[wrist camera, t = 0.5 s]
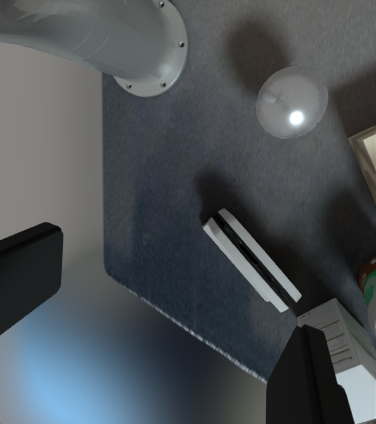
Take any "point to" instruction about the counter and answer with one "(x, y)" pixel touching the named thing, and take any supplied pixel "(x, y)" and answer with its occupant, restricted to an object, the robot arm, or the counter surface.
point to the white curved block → (255, 273)
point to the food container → (369, 289)
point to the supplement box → (348, 355)
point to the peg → (291, 102)
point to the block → (366, 155)
